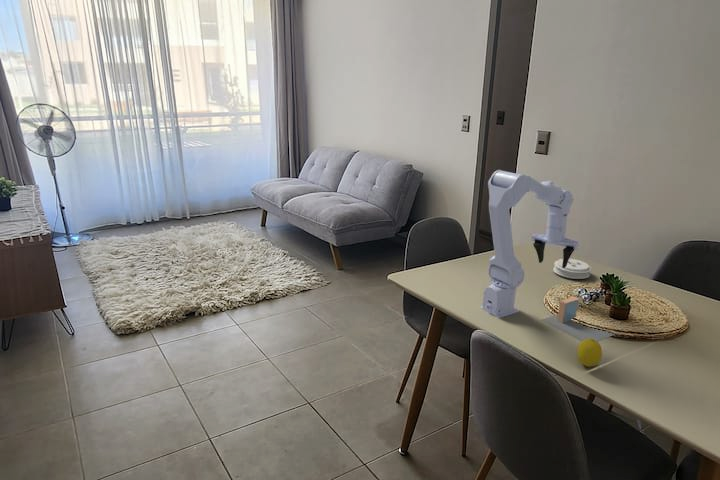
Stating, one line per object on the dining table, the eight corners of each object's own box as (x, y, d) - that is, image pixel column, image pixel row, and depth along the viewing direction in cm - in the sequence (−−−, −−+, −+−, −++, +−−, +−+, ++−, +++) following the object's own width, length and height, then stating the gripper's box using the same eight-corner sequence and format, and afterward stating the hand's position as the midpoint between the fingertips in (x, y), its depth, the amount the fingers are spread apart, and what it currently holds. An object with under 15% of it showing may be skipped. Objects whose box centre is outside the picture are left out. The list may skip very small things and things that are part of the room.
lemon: (578, 357, 120) (583, 330, 118) (601, 365, 117) (607, 338, 114) (572, 367, 116) (577, 339, 114) (595, 375, 113) (601, 347, 110)
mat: (588, 346, 126) (588, 344, 126) (540, 321, 139) (540, 319, 139) (615, 335, 131) (615, 334, 131) (567, 312, 144) (567, 311, 144)
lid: (564, 281, 167) (566, 269, 166) (546, 268, 179) (548, 256, 178) (596, 280, 169) (598, 267, 167) (576, 267, 181) (579, 255, 179)
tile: (562, 323, 137) (566, 303, 135) (557, 320, 139) (560, 300, 136) (575, 318, 140) (579, 299, 138) (570, 315, 141) (573, 296, 139)
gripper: (584, 226, 147) (579, 265, 152) (538, 218, 156) (535, 255, 161) (577, 232, 142) (572, 272, 147) (530, 224, 151) (527, 262, 156)
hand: (552, 264), depth 154 cm, fingers open, 7 cm apart
